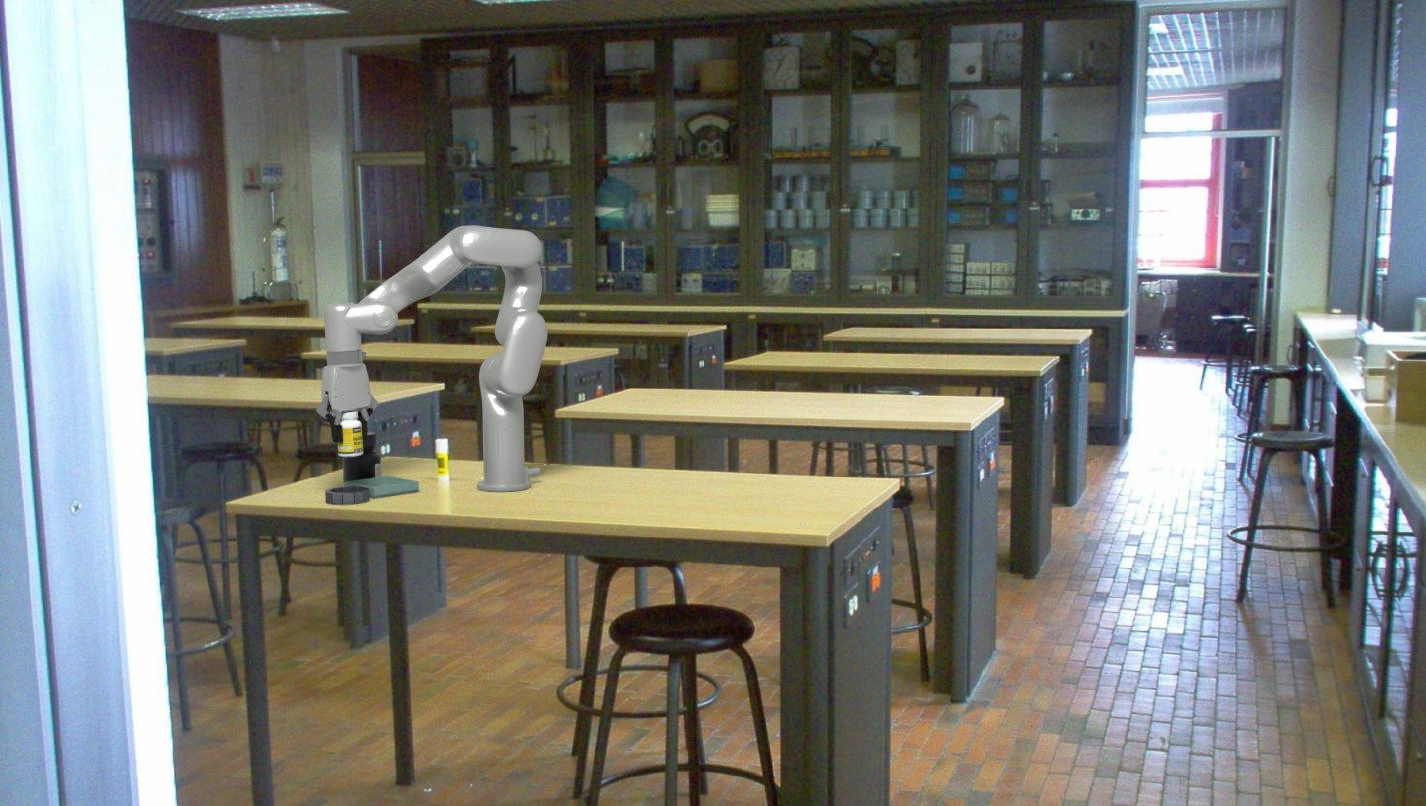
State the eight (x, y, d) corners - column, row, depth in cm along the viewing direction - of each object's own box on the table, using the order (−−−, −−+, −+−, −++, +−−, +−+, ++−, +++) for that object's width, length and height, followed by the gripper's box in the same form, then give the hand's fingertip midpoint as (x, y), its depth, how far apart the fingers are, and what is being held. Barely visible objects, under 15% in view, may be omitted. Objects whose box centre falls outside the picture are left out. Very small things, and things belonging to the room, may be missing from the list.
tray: (388, 485, 313) (388, 475, 313) (418, 491, 305) (418, 481, 305) (344, 492, 304) (344, 481, 304) (374, 498, 296) (373, 487, 296)
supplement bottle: (356, 457, 290) (353, 413, 289) (334, 457, 291) (330, 413, 290) (368, 453, 295) (364, 409, 294) (345, 453, 296) (342, 410, 295)
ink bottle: (387, 484, 316) (386, 434, 314) (351, 487, 311) (350, 437, 309) (373, 478, 324) (371, 430, 322) (337, 482, 319) (336, 432, 317)
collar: (354, 495, 300) (353, 484, 300) (377, 500, 294) (377, 489, 294) (317, 501, 293) (316, 490, 293) (340, 506, 287) (340, 495, 287)
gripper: (368, 354, 299) (373, 434, 301) (300, 361, 287) (306, 444, 289) (387, 356, 294) (392, 436, 296) (319, 363, 282) (324, 447, 284)
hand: (350, 439), depth 293 cm, fingers closed on supplement bottle, 5 cm apart
